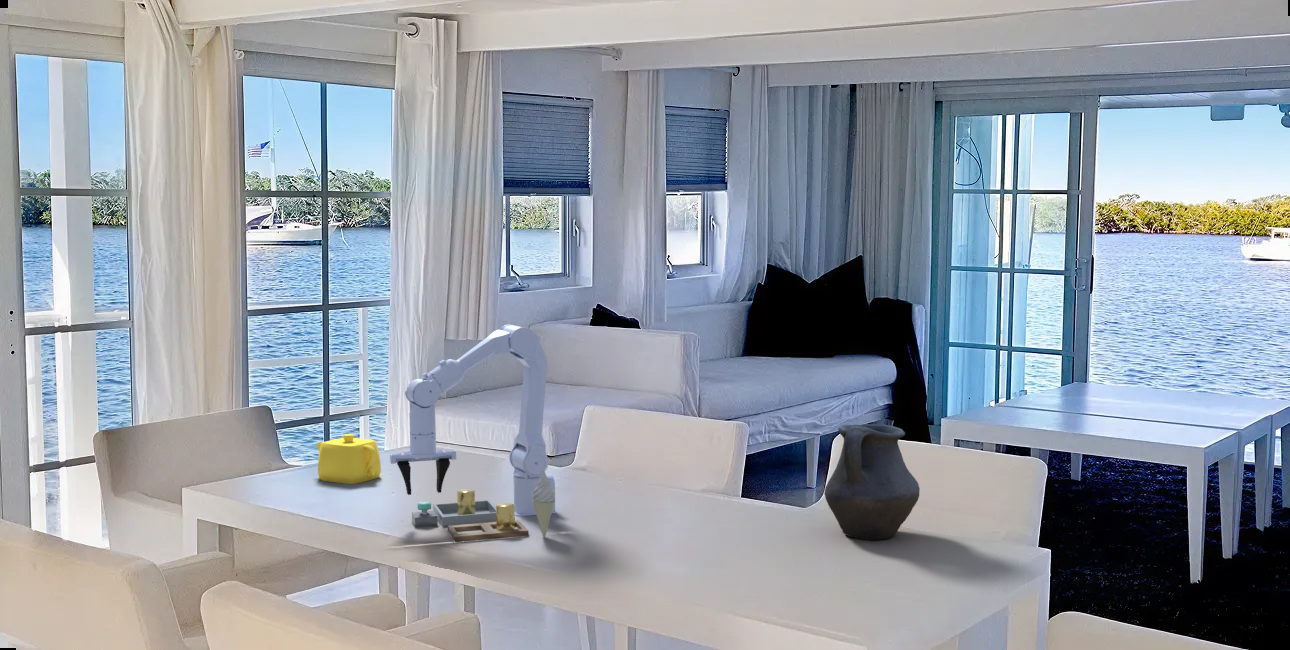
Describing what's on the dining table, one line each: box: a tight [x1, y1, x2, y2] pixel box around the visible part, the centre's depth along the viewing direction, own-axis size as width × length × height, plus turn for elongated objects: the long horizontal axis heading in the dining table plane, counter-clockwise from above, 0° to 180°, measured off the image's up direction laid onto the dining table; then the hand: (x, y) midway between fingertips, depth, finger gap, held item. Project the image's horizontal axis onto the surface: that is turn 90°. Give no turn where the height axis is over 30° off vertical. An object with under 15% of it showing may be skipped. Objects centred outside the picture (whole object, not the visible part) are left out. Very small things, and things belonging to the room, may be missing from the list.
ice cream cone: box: [532, 469, 556, 538], centre depth 280 cm, size 5×5×15 cm
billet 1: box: [456, 488, 476, 515], centre depth 297 cm, size 4×4×6 cm
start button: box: [417, 501, 432, 516], centre depth 291 cm, size 3×3×4 cm
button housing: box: [411, 510, 439, 528], centre depth 291 cm, size 5×5×2 cm
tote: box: [432, 499, 496, 527], centre depth 297 cm, size 13×13×2 cm
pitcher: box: [823, 423, 920, 542], centre depth 279 cm, size 21×22×25 cm
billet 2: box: [495, 502, 516, 531], centre depth 285 cm, size 4×4×6 cm
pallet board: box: [447, 519, 530, 543], centre depth 284 cm, size 16×10×1 cm, turn 108°
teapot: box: [315, 433, 382, 485], centre depth 342 cm, size 20×12×12 cm, turn 59°
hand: (424, 492), depth 291 cm, fingers open, 6 cm apart
